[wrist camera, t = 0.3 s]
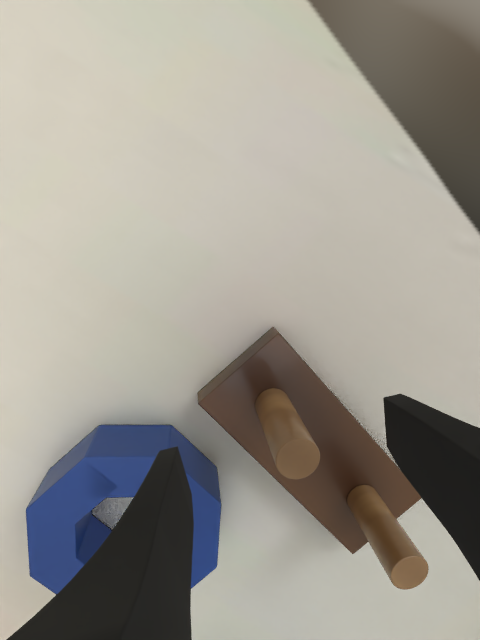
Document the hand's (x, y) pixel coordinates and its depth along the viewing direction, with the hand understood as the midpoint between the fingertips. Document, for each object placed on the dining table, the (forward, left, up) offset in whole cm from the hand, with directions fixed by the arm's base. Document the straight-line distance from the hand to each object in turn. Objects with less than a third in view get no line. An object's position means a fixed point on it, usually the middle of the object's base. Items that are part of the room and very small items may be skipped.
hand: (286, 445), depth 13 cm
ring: (-11, -2, -10) cm, 15 cm away
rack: (-1, -7, -10) cm, 12 cm away
